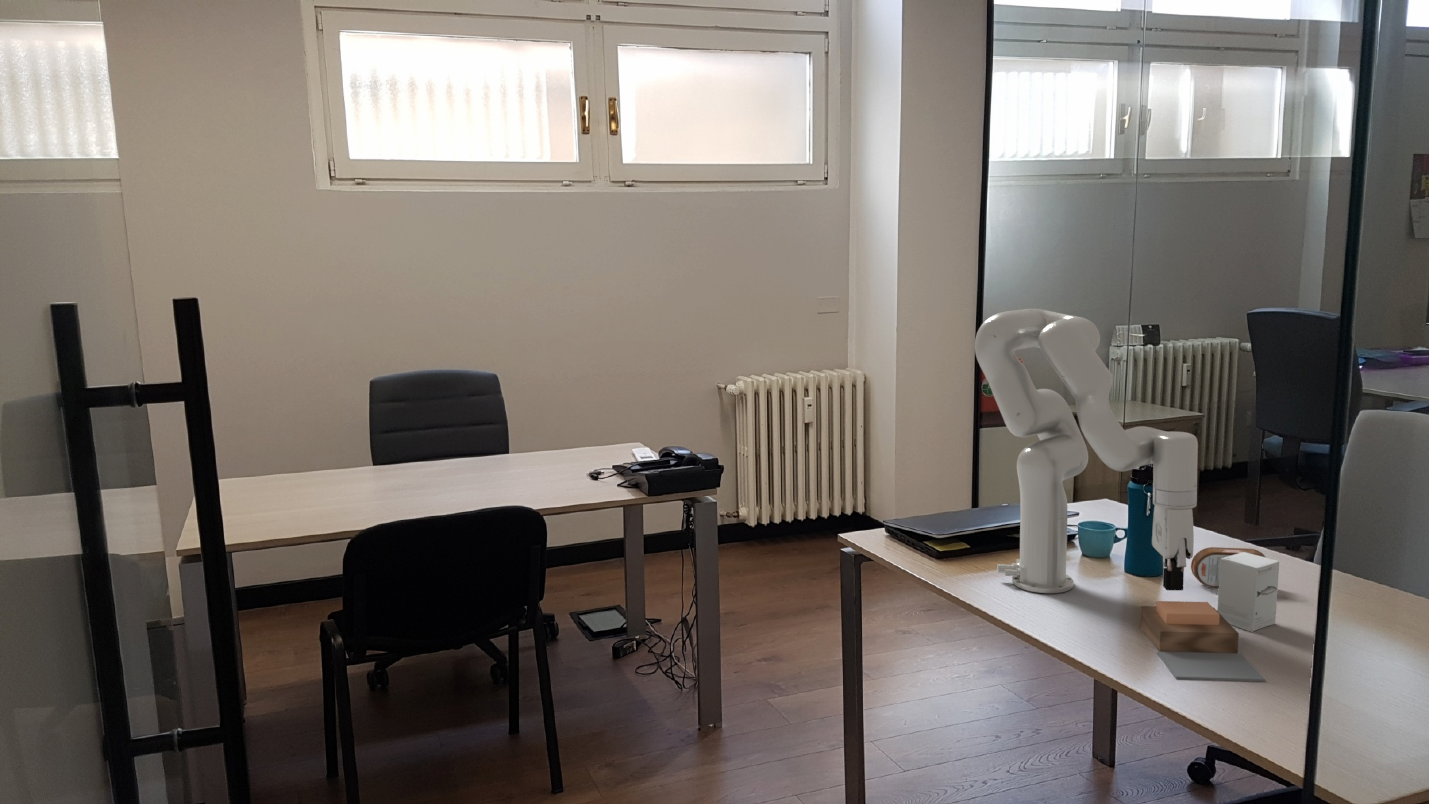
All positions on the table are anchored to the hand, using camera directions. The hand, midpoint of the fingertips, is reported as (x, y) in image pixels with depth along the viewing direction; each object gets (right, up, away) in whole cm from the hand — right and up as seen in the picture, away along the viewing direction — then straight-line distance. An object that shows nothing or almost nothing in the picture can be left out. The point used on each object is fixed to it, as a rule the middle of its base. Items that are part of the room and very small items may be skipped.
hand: (1173, 588), depth 182 cm
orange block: (-2, -4, -9) cm, 10 cm away
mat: (-3, -10, -20) cm, 22 cm away
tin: (+20, -3, +16) cm, 26 cm away
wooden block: (-2, -8, -9) cm, 12 cm away
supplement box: (+13, -6, -2) cm, 14 cm away
